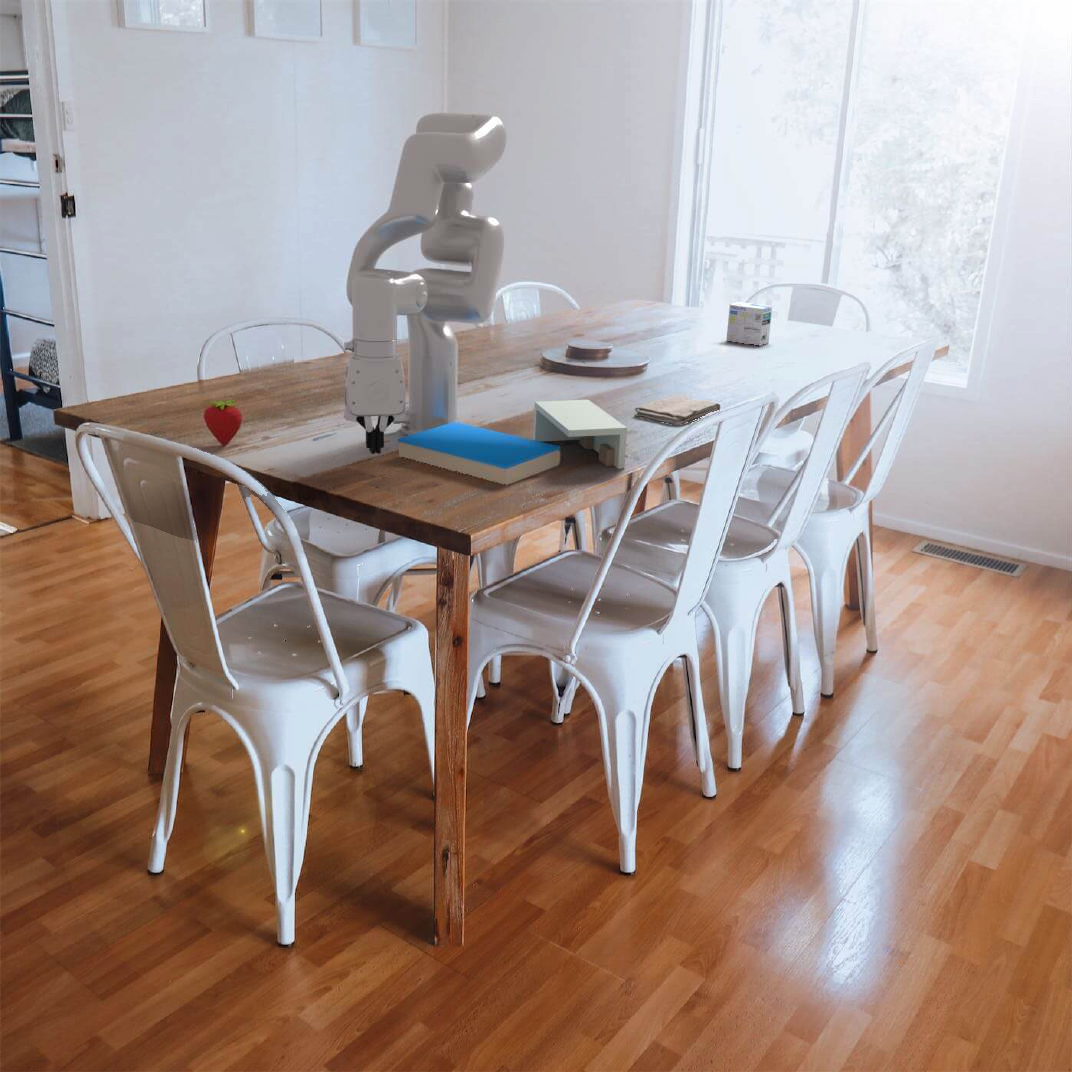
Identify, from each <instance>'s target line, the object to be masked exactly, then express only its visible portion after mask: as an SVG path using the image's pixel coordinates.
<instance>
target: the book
mask: <svg viewBox="0 0 1072 1072" xmlns="http://www.w3.org/2000/svg"><path fill="white" fill-rule="evenodd" d="M397 442H398V457H399V456H403V457H405V458H404V459H406V458H410V459H413V460H416V461H415V462H417V461H421V462H424V463H427V464H426V465H428V464H430V465H429V466H432V465H435V466H434V467H436V466H438V467H437V468H440V467H441V468H440V469H443V468H446V469H445V470H447V469H448V471H451V472H455V471H458V472H457V473H459V472H460V473H459V474H462V473H463V474H462V475H466V474H469V475H468V476H470V475H472V476H471V477H474V476H475V477H474V478H477V477H478V479H481V478H483V479H482V480H485V479H486V481H490V482H493V481H494V482H493V483H496V482H497V483H498V484H500V485H504V484H506V485H505V486H509V485H511V484H513V483H516V482H519V481H521V480H524V479H527V478H529V477H532V476H534V475H536V474H539V473H541V472H544V471H547V470H549V469H552V468H555V467H558V466H561V465H560V464H561V462H562V451H561V446H559V445H556V444H551V443H546V442H544V441H541V442H539V441H535V440H533V439H529V438H525V437H522V436H517V435H513V434H508V433H504V432H500V431H497V430H492V429H487V428H484V427H479V426H476V425H475V426H474V425H470V424H466V423H462V422H461V423H458V422H452V423H449V424H446V425H442V426H439V427H436V428H432V429H429V430H425V431H422V432H419V433H415V434H412V435H409V436H408V435H405V436H403V437H399V438H397ZM413 460H412V461H413ZM421 462H420V463H421ZM424 463H423V464H424ZM508 484H509V485H508Z"/></svg>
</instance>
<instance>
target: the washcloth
mask: <svg viewBox="0 0 1072 1072" xmlns="http://www.w3.org/2000/svg"><path fill="white" fill-rule="evenodd" d="M717 410H719V411H720V410H721V404H720V403H717V402H715V401H710V400H709V401H708V400H700V399H694V398H689V397H686V396H679V395H673V396H671V395H670V396H669V397H664V398H660V399H658V400H654V401H651V402H648V403H645V404H641V405H638V406H636V407H635V408H634V411H635V412H636V413H635V414H634V417H637V416H638V417H637V418H640V419H643V420H646V419H650V420H649V421H651V420H653V421H652V422H656V421H658V422H657V423H660V422H664V423H668V424H667V425H669V424H672V425H671V426H675V425H677V426H684V425H685V424H684V423H686V422H688V423H687V424H690V423H689V422H691V423H694V421H693V420H695V419H698V418H700V417H702V416H705V415H706V414H708V413H710V412H714V411H717ZM664 423H663V424H664ZM680 424H682V425H680Z"/></svg>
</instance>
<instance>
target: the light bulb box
mask: <svg viewBox="0 0 1072 1072" xmlns="http://www.w3.org/2000/svg"><path fill="white" fill-rule="evenodd" d="M728 309H729V311H728V319H727V332H726V342H727V341H732V342H731V343H735V342H738V343H737V344H742V343H744V344H743V345H749V344H754V345H753V346H756V345H759V346H758V347H761V346H764V345H766V344H769V343H770V333H771V332H770V331H771V323H772V321H771V320H772V313H773V311H772V310H773V306H772V305H765V304H757V303H756V304H755V303H746V302H742V301H738V302H734V303H731V304H729V308H728ZM763 344H764V345H763Z"/></svg>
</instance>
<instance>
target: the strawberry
mask: <svg viewBox="0 0 1072 1072" xmlns="http://www.w3.org/2000/svg"><path fill="white" fill-rule="evenodd" d="M226 393H227V392H226V391H225V392H224V397H223V399H225V397H226ZM236 402H237V400H226V402H225V401H220V400H218V401H209V403H211V404H209V406H207V408H206V409H205V410H204V414H203V418H204V419H203V420H204V423H205V424H206V428H208V430H209V431H210V433H211V434H212V435H213V437H214V438H215V439H216V440H217V441H218V443H219V444H220V445H221V446H223V445H226V446H228V445H229V444H230V442H231V441H232V440H233V438H234V437H236V435H237V433H238V432H239V430H240V428H241V426H242V423H243V416H242V412H241V410H239V409H238V408H237V407H238V406H239V405H238V404H235V403H236Z"/></svg>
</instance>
